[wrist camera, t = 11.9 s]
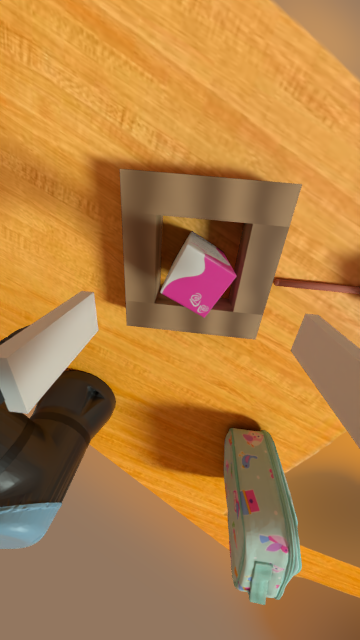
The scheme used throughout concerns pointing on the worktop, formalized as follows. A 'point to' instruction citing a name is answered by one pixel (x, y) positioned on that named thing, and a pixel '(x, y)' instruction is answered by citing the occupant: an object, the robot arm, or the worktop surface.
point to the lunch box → (259, 516)
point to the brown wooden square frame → (213, 204)
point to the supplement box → (198, 275)
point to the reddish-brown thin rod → (317, 286)
